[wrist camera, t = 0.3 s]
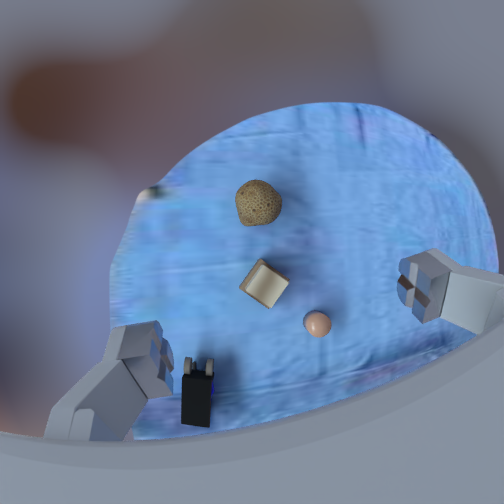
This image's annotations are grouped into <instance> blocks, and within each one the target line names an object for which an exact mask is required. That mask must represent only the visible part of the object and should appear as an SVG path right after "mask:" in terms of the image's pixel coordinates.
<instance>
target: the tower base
mask: <svg viewBox="0 0 504 504" xmlns="http://www.w3.org/2000/svg"><path fill="white" fill-rule="evenodd" d="M261 265H264V266H266V267H267V268H269V269H270V270H272V271H273V272H274V273H276V274H277V275H279V276H280V277H281V278H283V279H284V280H286V281H287V282H288V281H289V280H290V279H288V278H287V277H285V276H284V275H283V274H281V273H280V272H278V271H277V270H276V269H274V268H273V267H271V266H270V265H269V264H267V263H266V262H264V261H263V260H262V259H258V261H257V262H256V263H255V265H254V266H253V268H252V269H251V270H250V272H249V273H248V275H247V276H246V277H245V279H244V280H243V282H242V283H241V284H240V286H239V289H241V290H242V291H244V292H245V293H247V294H248V295H249V296H251V297H252V298H254V299H255V300H257V301H258V302H259V303H261V304H262V305H264V306H265V307H267V308H268V309H269V308H270V307H269V306H267V305H266V304H264V303H263V302H261V301H260V300H258V299H257V298H256V297H254V296H253V295H251V294H250V293H248V292H247V291H246V290H245V287H246V286H247V284H248V283H249V281H250V280H251V279H252V277H253V276H254V274H255V273H256V272H257V270H258V269H259V267H260V266H261Z"/></svg>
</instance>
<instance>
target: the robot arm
mask: <svg viewBox="0 0 504 504" xmlns="http://www.w3.org/2000/svg"><path fill="white" fill-rule="evenodd" d="M399 272H400V273H401V276H400V278H399V279H398V281H397V292H398V297H399V298H400V300H401V302H402V303H403V304H404V305H405V306H407V307H410V308H412V314H413V315H414V316H415V317H416V318H417V319H418V320H419V321H420V322H421V323H422V324H423V323H426V322H428V321H431V320H433V319H435V318H438V317H440V316H441V317H440V318H443V319H445V320H447V321H449V322H451V323H453V324H456V325H458V326H460V327H462V328H464V329H466V330H469V331H471V332H473V333H475V334H477V336H475V337H474V338H472V339H471V340H469V341H467V342H466V343H464V344H462V345H460V346H459V347H457V348H455V349H453V350H452V351H450V352H448V353H446V354H444V355H442V356H441V357H439V358H437V359H435V360H433V361H431V362H429V363H427V364H425V365H423V366H421V367H419V368H417V369H415V370H413V371H411V372H409V373H407V374H404V375H402V376H400V377H398V378H396V379H393V380H391V381H389V382H386V383H384V384H382V385H379V386H377V387H374V388H372V389H369V390H367V391H364V392H362V393H359V394H356V395H354V396H351V397H348V398H346V399H343V400H340V401H337V402H334V403H331V404H328V405H325V406H322V407H319V408H316V409H312V410H309V411H306V412H302V413H299V414H295V415H292V416H288V417H284V418H280V419H276V420H272V421H268V422H264V423H260V424H255V425H251V426H246V427H241V428H236V429H230V430H225V431H219V432H213V433H207V434H200V435H192V436H184V437H175V438H165V439H153V440H136V441H123V439H124V437H125V436H126V434H127V433H128V431H129V430H130V428H131V427H132V425H133V423H134V422H135V420H136V419H137V417H138V416H139V414H140V413H141V411H142V409H143V408H144V406H145V405H146V403H147V402H148V399H152V398H159V397H165V396H171V395H173V377H172V375H171V374H170V373H171V371H172V370H173V369H174V359H173V353H172V350H171V347H170V345H169V342H168V341H167V340H166V339H164V338H163V337H162V336H163V329H162V327H161V325H160V323H159V322H158V321H157V320H155V321H149V322H143V323H137V324H131V325H125V326H120V327H115V328H113V329H112V331H111V334H110V337H109V340H108V343H107V347H106V350H105V353H104V357H103V360H102V362H99V363H97V364H96V365H95V366H94V367H93V368H92V369H91V370H90V371H89V372H88V373H87V374H86V375H85V376H84V377H83V378H82V379H81V380H80V381H79V382H78V383H77V384H76V385H75V386H74V387H73V388H71V389H70V391H69V392H67V393H66V394H65V395H64V396H63V398H61V399H60V401H58V402H57V403H56V404H55V405H54V406H53V407H52V410H51V413H50V416H49V420H48V423H47V426H46V430H45V433H44V437H43V438H39V437H31V436H24V435H17V434H11V433H6V432H1V431H0V504H504V275H501V274H497V273H493V272H489V271H485V270H481V269H477V268H473V267H469V266H464V267H462V266H461V265H460V264H458V263H457V262H455V261H454V260H453V259H451V258H450V257H448V256H447V255H445V254H444V253H442V252H441V251H439V250H438V249H436V248H432V249H429V250H426V251H424V252H422V253H419V254H416V255H413V256H410V257H407V258H403V259H401V261H400V263H399Z"/></svg>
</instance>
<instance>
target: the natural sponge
mask: <svg viewBox="0 0 504 504" xmlns="http://www.w3.org/2000/svg"><path fill="white" fill-rule="evenodd" d="M235 201H236V207H237V211H238V215H239V219H240V221H241V223H242V224H243V225H244V226H256V225H265V224H269V223H271V222H273V221H274V220H275V219H276V218H277V217H278V215H279V214H280V211H281V207H282V198H281V196H280V195H279V194H278V193H277V192H276V191H275V190H274V188H273V187H272V186H271V185H270V184H268V183H266V182H264V181H261V180H251V181H248V182H247V183H245V184H244V185H243V186H241V187H240V188H239V190H238V191H237V193H236V197H235Z"/></svg>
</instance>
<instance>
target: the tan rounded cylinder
mask: <svg viewBox="0 0 504 504" xmlns="http://www.w3.org/2000/svg"><path fill="white" fill-rule="evenodd" d="M303 325H304V327H305V329H306V330H307V331H309V332H310V333H311V334H312V335H313V336H315V337H323V336H325V335H327V334H328V333H329V331H330V329H331V321H330V319H329V317H327V316H326V315H324V314H323V313H321V312H319V311H316V310H314V311H310V312H308V313H307V314H306V315H305V317H304V319H303Z"/></svg>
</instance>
